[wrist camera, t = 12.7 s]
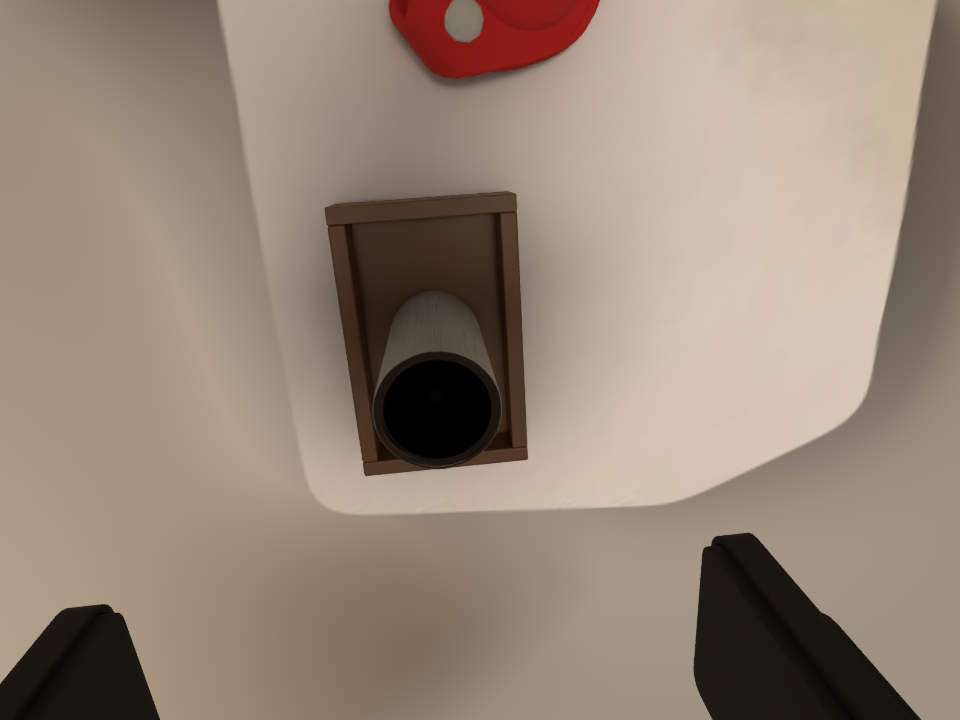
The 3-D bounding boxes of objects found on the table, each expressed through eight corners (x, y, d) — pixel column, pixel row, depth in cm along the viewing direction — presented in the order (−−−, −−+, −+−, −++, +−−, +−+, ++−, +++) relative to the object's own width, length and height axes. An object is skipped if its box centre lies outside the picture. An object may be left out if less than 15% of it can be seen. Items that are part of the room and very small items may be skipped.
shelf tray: (333, 204, 28) (324, 207, 25) (508, 191, 28) (516, 193, 26) (369, 453, 32) (364, 476, 30) (520, 438, 33) (528, 460, 30)
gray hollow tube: (378, 356, 30) (354, 447, 20) (409, 275, 29) (399, 332, 19) (459, 385, 31) (472, 486, 21) (492, 308, 29) (523, 378, 20)
